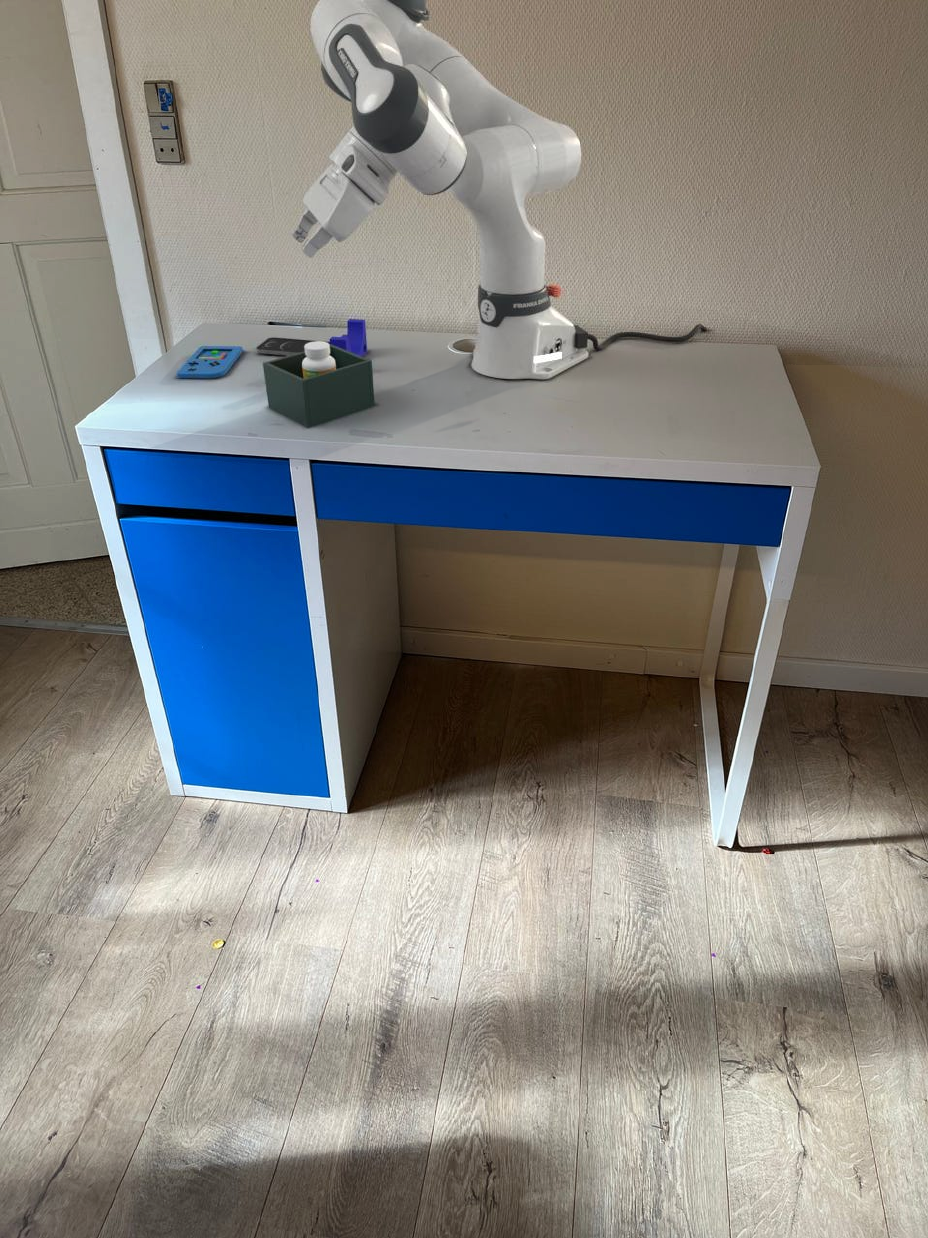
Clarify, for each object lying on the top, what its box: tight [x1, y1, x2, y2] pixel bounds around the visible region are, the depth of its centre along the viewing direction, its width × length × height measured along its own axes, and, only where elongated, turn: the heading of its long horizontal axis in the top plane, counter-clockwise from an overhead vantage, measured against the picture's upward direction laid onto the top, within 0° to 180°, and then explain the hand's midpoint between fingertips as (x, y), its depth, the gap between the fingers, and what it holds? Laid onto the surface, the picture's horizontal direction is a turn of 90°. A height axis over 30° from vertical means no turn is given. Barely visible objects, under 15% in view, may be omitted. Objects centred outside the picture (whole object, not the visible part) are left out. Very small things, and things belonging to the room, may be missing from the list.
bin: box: [262, 344, 376, 428], centre depth 152 cm, size 13×11×8 cm
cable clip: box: [329, 318, 368, 357], centre depth 171 cm, size 12×4×6 cm, turn 169°
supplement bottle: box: [302, 340, 336, 379], centre depth 151 cm, size 5×5×10 cm
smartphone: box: [255, 336, 330, 356], centre depth 177 cm, size 8×1×15 cm
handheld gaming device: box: [176, 345, 244, 379], centre depth 171 cm, size 8×1×15 cm
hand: (300, 246), depth 140 cm, fingers open, 8 cm apart
